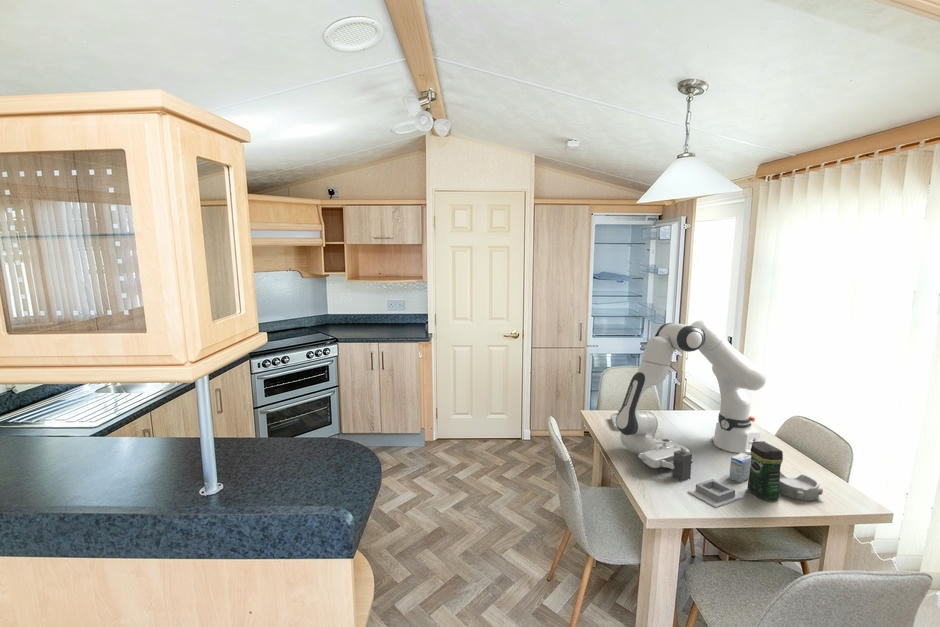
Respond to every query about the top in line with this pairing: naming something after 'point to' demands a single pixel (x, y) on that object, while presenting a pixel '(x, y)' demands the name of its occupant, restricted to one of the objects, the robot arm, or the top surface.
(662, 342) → the robot arm
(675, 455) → the plug
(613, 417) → the intercom
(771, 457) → the coffee jar
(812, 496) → the dish
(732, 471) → the medicine box
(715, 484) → the socket plate
